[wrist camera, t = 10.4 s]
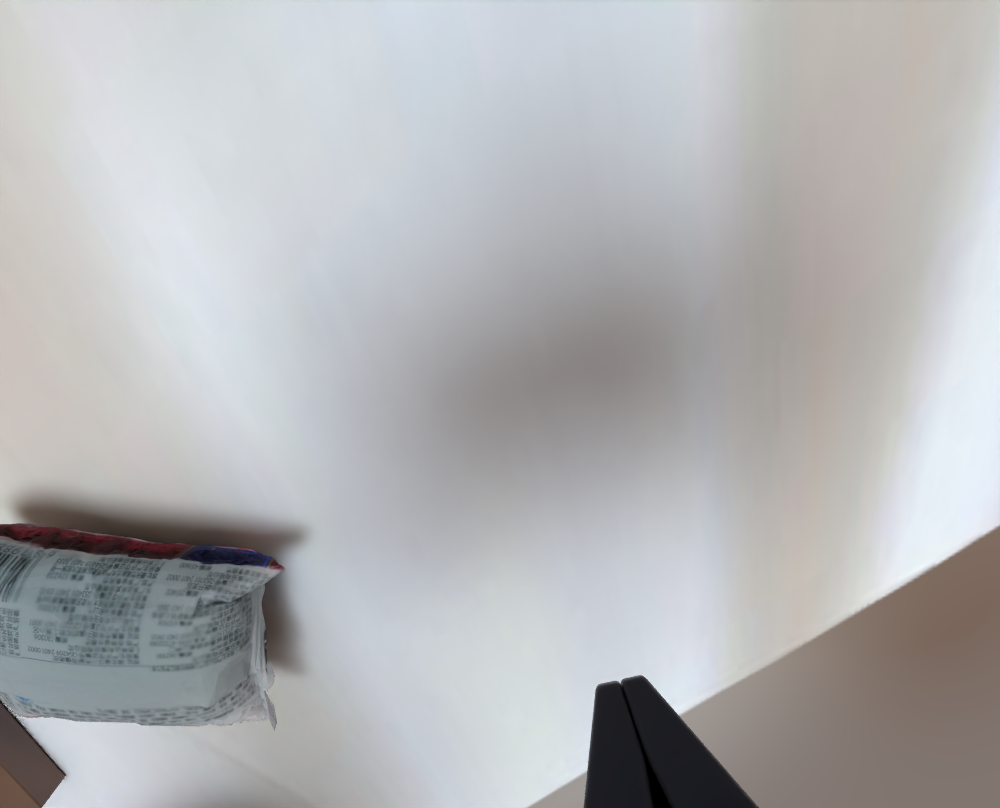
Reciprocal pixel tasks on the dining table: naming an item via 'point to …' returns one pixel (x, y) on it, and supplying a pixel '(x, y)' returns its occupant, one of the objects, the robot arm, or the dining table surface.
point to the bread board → (23, 767)
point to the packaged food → (132, 629)
